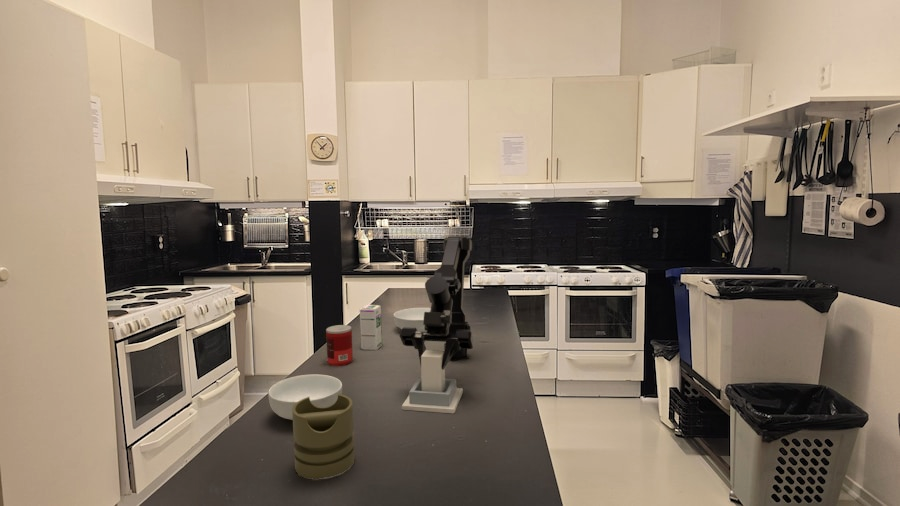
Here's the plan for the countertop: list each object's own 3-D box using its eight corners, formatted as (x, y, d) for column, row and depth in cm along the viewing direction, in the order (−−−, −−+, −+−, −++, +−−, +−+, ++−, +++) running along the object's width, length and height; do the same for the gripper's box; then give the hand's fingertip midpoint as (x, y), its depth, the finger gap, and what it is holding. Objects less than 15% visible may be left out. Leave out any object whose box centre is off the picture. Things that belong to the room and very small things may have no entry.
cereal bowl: (275, 438, 106) (273, 406, 106) (265, 408, 121) (263, 381, 120) (351, 420, 114) (350, 391, 113) (333, 395, 129) (332, 369, 128)
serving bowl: (457, 327, 193) (457, 310, 193) (427, 341, 176) (427, 322, 175) (414, 320, 204) (414, 304, 204) (382, 333, 187) (382, 315, 186)
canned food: (357, 359, 157) (356, 325, 156) (344, 367, 150) (342, 332, 148) (336, 356, 160) (335, 324, 158) (322, 364, 152) (321, 330, 151)
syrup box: (377, 350, 166) (375, 308, 164) (360, 349, 167) (359, 307, 165) (382, 345, 171) (381, 304, 169) (366, 344, 172) (365, 304, 171)
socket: (415, 388, 132) (415, 374, 132) (462, 392, 130) (462, 377, 129) (402, 409, 120) (401, 393, 119) (454, 413, 117) (454, 397, 117)
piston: (295, 396, 99) (352, 391, 101) (298, 452, 100) (354, 446, 103) (289, 421, 88) (353, 414, 90) (292, 484, 89) (355, 476, 92)
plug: (426, 387, 127) (425, 349, 126) (445, 388, 126) (444, 350, 125) (421, 394, 123) (421, 356, 121) (441, 396, 122) (440, 357, 120)
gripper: (400, 297, 127) (388, 351, 118) (471, 299, 124) (465, 355, 114) (409, 319, 136) (398, 371, 126) (475, 321, 132) (470, 375, 123)
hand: (432, 368), depth 122 cm, fingers closed on plug, 5 cm apart
